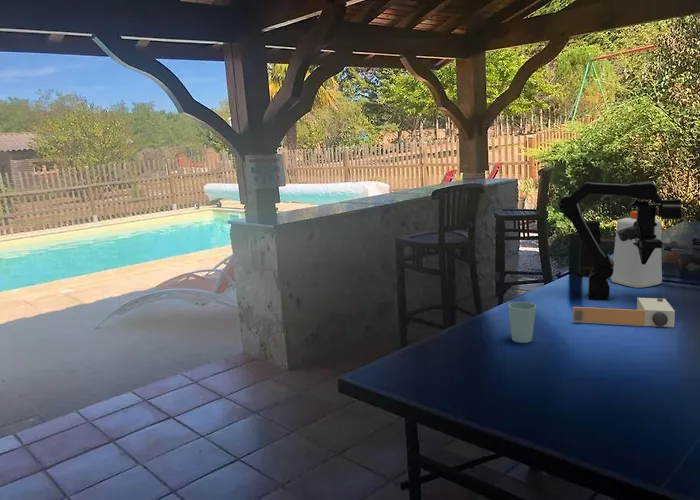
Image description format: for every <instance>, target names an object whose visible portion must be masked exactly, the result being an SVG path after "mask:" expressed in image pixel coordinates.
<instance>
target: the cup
mask: <svg viewBox="0 0 700 500" xmlns="http://www.w3.org/2000/svg"><path fill="white" fill-rule="evenodd" d="M507 306H508V313H509V315H508V316H509V323H510V324H509V325H510V335H511V340H512V341H513V342H515V343H519V344H525V343H527V344H528V343H530V342H532V340H533V335H534V334H533V333H534V325H535V317H536V312H537V305H536V303H532V302H529V301H514V302H513V301H512V302H510V303H509V304H508V305H507Z"/></svg>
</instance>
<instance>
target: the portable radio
mask: <svg viewBox="0 0 700 500" xmlns="http://www.w3.org/2000/svg"><path fill="white" fill-rule="evenodd" d="M582 217H583V219H584V217H585V215H582ZM584 221H585V223H586V224H587V226H588V228H589V230H590V232H591V233H592V235H593V237H594V239H595V241H596V242H597V244H598V246H599V245H600V244H601V230H600V221H599V220H585V219H584ZM599 247H600V246H599ZM577 254H578V255H577V256H578V258H577V274H578V273H579V274H580V275H581V277H589V275H590V272H591V271H593V270H594V266H593V263H592V259H591V256H590V254H589V252H588V250H587V249H586V247H585V245H584V243H583V241H582V240H581V238H580V236H579V235H578V253H577ZM579 274H578V275H579ZM580 275H579V276H580Z"/></svg>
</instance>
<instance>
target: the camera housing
mask: <svg viewBox="0 0 700 500" xmlns="http://www.w3.org/2000/svg"><path fill="white" fill-rule="evenodd" d="M636 299H637V300H636V301H637V302H636V310H645V320H644V326H645V327H659V328H661V327H662V328H674V327H675V316H676V311H675V310H674V308H673V307H672V305H671V304H670V303H669V302H668V301H667V300H666V298H661V297H660V298H659V297H658V298H657V297H655V298H653V297H636ZM644 326H643V327H644Z"/></svg>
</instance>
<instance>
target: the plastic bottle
mask: <svg viewBox="0 0 700 500" xmlns="http://www.w3.org/2000/svg"><path fill="white" fill-rule="evenodd" d="M629 214H630V216H629V217H625V218H620V219H618V220H617V221H616V222H617V223H616V230H615V237H614V238H615V239H614V249H613V256H612V257H613V258H612V261H614V270H613V274H612V276H611V277H610V281H611V282H612V283H615V284H618V285H622V286H626V287H630V288H634V289H635V288H637V289H643V288H645V289H646V288H648V287H654V286H658V285H660V284H661V283H662V282H663V275H662V274H663V272H662V269H663V268H662V267H663V265H662V263H663V262H662V248H655V249H654V251H653V253H652V254H651V256H650V257H649V259H648V261H647V263H646V264H645V265H643V264H641V259H640V255H639V250H638V248H637V247H636V246H635V245H634V244H633V243H635V240H636V239H632V240H629V239H628V240H627V241H621V240H620V238H619V235H618V233H617V231H619V230H622V229H625V228H628V227H632V226H634V222H635V221H636V219H637V210H632V211H630V213H629ZM655 222H656V223H657V226H655V235H656V238H658V239H659V240H661V241H662V228H661V227H662V222H661V221H660V219H658V218H655Z"/></svg>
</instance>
